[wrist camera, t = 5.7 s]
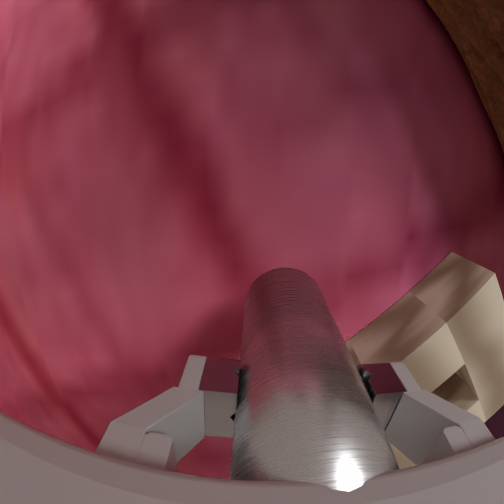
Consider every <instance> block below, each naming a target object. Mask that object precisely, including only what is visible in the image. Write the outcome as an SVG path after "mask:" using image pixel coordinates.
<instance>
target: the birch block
mask: <svg viewBox="0 0 504 504" xmlns="http://www.w3.org/2000/svg"><path fill="white" fill-rule="evenodd" d="M345 343H346V345H347V347H348V350H349V352H350V354H351V356H352V358H353V360H354V363H355V365H356V367H357V366H358V364H373V363H387V362H397V361H401V362H403V363H404V364H405V366H406V367H407V369H408V370H409V372H410V373H411V375H412V376H413V378H414V379H415V381H416V382H417V384H418V385H419V387H420V388H421V390H427V391H429V392H431V393H433V394H435V395H437V396H439V397H440V398H442V399H444V400H446V401H448V402H450V403H452V404H454V405H456V406H458V407H460V408H462V409H464V410H466V411H467V412H469V413H471V414H473V415H475V416H477V417H479V418H480V419H481V420H482V421H483V423H484V422H485V421H486V420H487V419H489V418H490V417H491V416H492V415H493V414H494V413H495V412H496V411H497V410H499V409H500V408H501V407H502V406H503V405H504V300H503V297H502V293H501V290H500V287H499V283H498V280H497V277H496V274H495V273H494V272H492V271H490V270H488V269H486V268H484V267H482V266H480V265H478V264H476V263H474V262H472V261H470V260H468V259H466V258H464V257H462V256H460V255H458V254H455V253H453V252H451V253H450V254H449V255H448V256H447V257H446V258H445V259H444V260H442V261H441V262H440V263H439V264H438V265H437V266H436V267H435V268H434V269H433V270H432V271H431V272H430V273H429V274H428V275H427V276H425V277H424V278H423V279H422V280H421V281H420V282H419V283H418V284H417V285H416V286H414V287H413V288H412V289H411V290H410V291H409V292H408V293H406V294H405V295H404V296H403V297H402V298H401V299H399V300H398V301H397V302H396V303H395V304H394V305H392V306H391V307H390V308H389V309H388V310H386V311H385V312H384V313H383V314H381V315H380V316H379V317H378V318H377V319H375V320H374V321H373V322H372V323H370V324H369V325H368V326H366V327H365V328H364V329H363V330H361V331H360V332H359V333H357V334H356V335H355V336H353V337H352V338H351V339H349V340H348V341H347V342H345ZM389 443H390V442H389ZM390 446H391V448H392V451H393V453H394V456H395V458H396V461H397V463H398V466H399V468H400V469H404V468H408V467H413V466H417V465H416V464H414V463H413V462H412V461H411V460H410V459H409V458H407V457H406V456H405V455H404V454H403V453H402V452H400V451H399V450H398V449H397V448H396V447H395V446H393V445H392V444H391V443H390Z"/></svg>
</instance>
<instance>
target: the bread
mask: <svg viewBox="0 0 504 504" xmlns="http://www.w3.org/2000/svg"><path fill="white" fill-rule="evenodd" d="M426 2H427V3H428V4H429V6H430V7H431V8H432V10H433V11H434V12H435V13H436V15H437V16H438V18H439V19H440V20H441V22H442V23H443V25H444V27H445V28H446V30H447V31H448V33H449V34H450V36H451V38H452V39H453V41H454V43H455V45H456V46H457V48H458V50H459V52H460V54H461V56H462V58H463V60H464V62H465V64H466V66H467V68H468V70H469V72H470V74H471V77H472V79H473V82H474V84H475V87H476V89H477V91H478V94H479V96H480V98H481V101H482V103H483V105H484V107H485V109H486V112H487V114H488V116H489V118H490V120H491V122H492V124H493V126H494V129H495V131H496V133H497V136H498V138H499V141H500V144H501V146H502V149H503V152H504V0H426Z"/></svg>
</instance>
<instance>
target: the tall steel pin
mask: <svg viewBox="0 0 504 504" xmlns="http://www.w3.org/2000/svg"><path fill="white" fill-rule="evenodd" d="M240 360H241V362H240V376H239V386H238V399H237V409H236V412H235V419H234V430H233V441H232V453H231V464H230V475H229V479H234V480H250V481H296V482H309V483H315V484H320V485H325V486H327V487H329V488H331V489H334V490H342V491H351V490H353V489H356V488H358V487H360V486H362V485H363V484H364V482H365V481H367V480H369V479H370V478H372V477H374V476H376V475H378V474H381V473H384V472H389V471H394V470H399V469H400V468H399V466H398V463H397V461H396V458H395V456H394V453H393V451H392V448H391V446H390V443H389V441H388V439H387V436H386V434H385V431H384V429H383V427H382V424H381V422H380V419H379V417H378V415H377V412H376V410H375V408H374V405H373V403H372V401H371V399H370V396H369V394H368V392H367V389H366V387H365V385H364V383H363V380H362V378H361V376H360V374H359V371H358V369H357V367H356V365H355V363H354V360H353V358H352V356H351V354H350V352H349V350H348V347H347V345H346V343H345V341H344V339H343V337H342V335H341V332H340V330H339V328H338V326H337V324H336V322H335V320H334V318H333V316H332V314H331V312H330V309H329V307H328V305H327V303H326V301H325V299H324V297H323V295H322V293H321V291H320V289H319V287H318V285H317V283H316V282H315V281H314V280H313V279H312V278H311V277H310V276H309V275H308V274H306V273H305V272H303V271H300V270H298V269H294V268H277V269H272V270H270V271H267V272H265V273H264V274H262V275H261V276H259V277H258V278H257V279H256V280H255V281H254V282H253V283H252V285H251V286H250V288H249V290H248V292H247V295H246V300H245V310H244V321H243V331H242V342H241V353H240Z"/></svg>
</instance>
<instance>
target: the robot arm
mask: <svg viewBox="0 0 504 504" xmlns="http://www.w3.org/2000/svg"><path fill="white" fill-rule="evenodd" d="M240 362H241V360H234V359H225V358H216V357H206V356H200V355H190V356H189V357H188V360H187V363H186V365H185V368H184V371H183V374H182V377H181V380H180V383H179V386H178V387H172V388H170V389H168V390H167V391H165V392H163V393H161V394H160V395H158V396H156V397H154V398H153V399H151V400H149V401H147V402H146V403H144V404H142V405H140V406H138V407H137V408H135V409H133V410H131V411H129V412H128V413H126V414H124V415H122V416H120V417H118V418H116V419H114V420H113V421H111V423H110V424H109V426H108V428H107V430H106V432H105V434H104V436H103V438H102V440H101V442H100V444H99V446H98V448H97V450H96V452H93V451H90V450H87V449H84V448H81V447H79V446H76V445H73V444H70V443H68V442H65V441H63V440H60V439H58V438H55V437H53V436H50V435H48V434H46V433H43V432H41V431H39V430H37V429H35V428H32V427H30V426H28V425H26V424H24V423H22V422H20V421H18V420H16V419H14V418H12V417H10V416H8V415H6V414H5V413H3V412H1V411H0V504H504V437H502V438H499V439H497V440H495V439H494V437H493V436H492V434H491V433H490V431H489V430H488V429H487V427H486V426H485V424H484V423H483V421H482V420H481V419H480V418H479V417H477V416H475V415H473V414H471V413H469V412H467V411H466V410H464V409H462V408H460V407H458V406H456V405H454V404H452V403H450V402H448V401H446V400H444V399H442V398H440V397H439V396H437V395H435V394H433V393H431V392H429V391H427V390H421V388H420V387H419V385H418V384H417V382H416V381H415V379H414V378H413V376H412V375H411V373H410V372H409V370H408V369H407V367H406V366H405V364H404V363H403V362H401V361H397V362H387V363H373V364H358V366H357V369H358V371H359V374H360V376H361V378H362V380H363V383H364V385H365V387H366V389H367V392H368V394H369V396H370V399H371V401H372V403H373V405H374V408H375V410H376V412H377V415H378V417H379V419H380V422H381V424H382V427H383V429H384V431H385V434H386V436H387V439H388V441H389V442H390V443H391V444H392V445H393V446H395V447H396V448H397V449H398V450H399V451H400V452H402V453H403V454H404V455H405V456H406V457H407V458H409V459H410V460H411V461H412V462H413V463H414V464H416V465H417V466H413V467H408V468H404V469H399V470H394V471H389V472H384V473H381V474H378V475H376V476H374V477H372V478H370V479H369V480H367V481H365V482H364V484H363V485H362V486H360V487H358V488H356V489H353V490H351V491H342V490H334V489H331V488H329V487H327V486H325V485H320V484H315V483H309V482H296V481H250V480H234V479H223V478H213V477H205V476H197V475H190V474H184V473H178V469H177V462H178V461H180V460H181V459H182V458H183V457H184V456H185V455H186V454H187V453H188V452H189V451H190V450H191V449H193V448H194V447H195V446H196V445H197V444H198V443H199V442H200V441H201V440H202V439H203V438H204V437H205V435H206V436H218V437H232V438H233V430H234V419H235V412H236V409H237V399H238V386H239V376H240Z"/></svg>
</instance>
